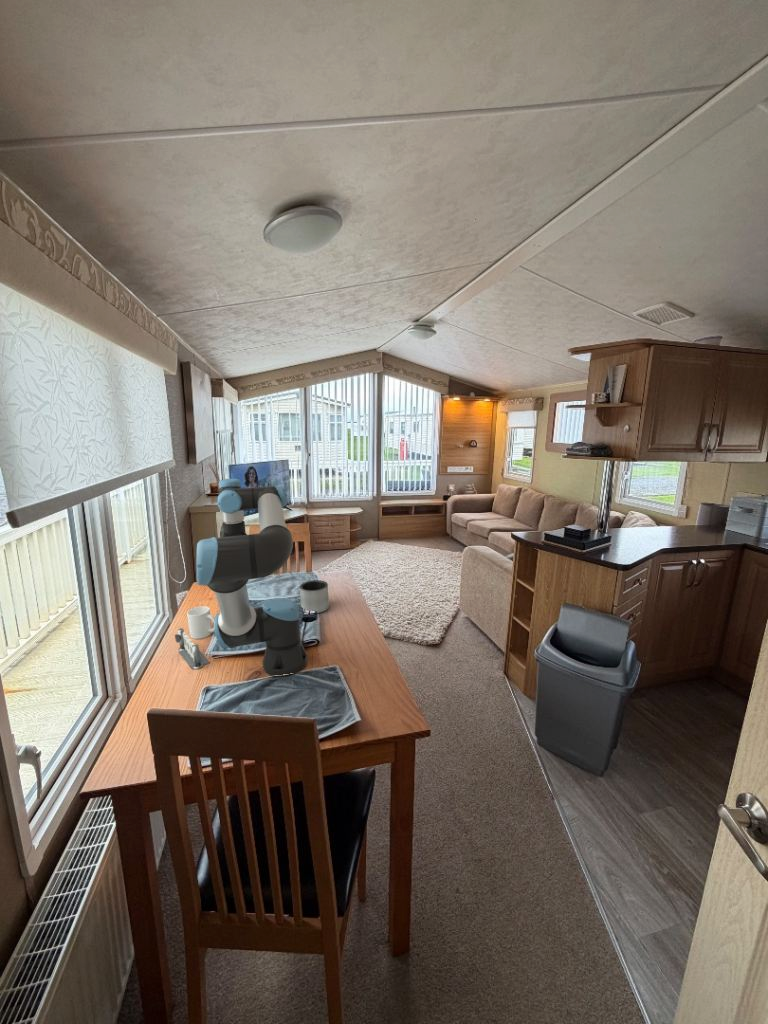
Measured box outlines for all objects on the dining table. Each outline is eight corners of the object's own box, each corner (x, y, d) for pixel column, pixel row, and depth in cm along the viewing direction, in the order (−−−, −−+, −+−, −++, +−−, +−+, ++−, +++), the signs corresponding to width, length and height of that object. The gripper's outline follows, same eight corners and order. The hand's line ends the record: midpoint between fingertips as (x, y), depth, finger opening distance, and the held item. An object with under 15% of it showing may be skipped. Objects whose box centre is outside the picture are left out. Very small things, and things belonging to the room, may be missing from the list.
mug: (224, 631, 172) (221, 608, 169) (211, 641, 164) (208, 617, 162) (199, 628, 175) (196, 605, 172) (185, 638, 167) (182, 614, 165)
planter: (304, 616, 183) (302, 592, 180) (298, 605, 194) (297, 582, 192) (332, 611, 187) (331, 588, 185) (325, 600, 199) (324, 578, 196)
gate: (197, 661, 149) (195, 644, 148) (194, 662, 149) (192, 645, 147) (187, 647, 158) (185, 631, 157) (184, 648, 158) (182, 632, 156)
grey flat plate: (210, 662, 150) (210, 661, 150) (192, 669, 146) (192, 668, 146) (195, 646, 161) (195, 645, 161) (178, 652, 157) (178, 651, 157)
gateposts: (204, 666, 147) (201, 646, 146) (193, 671, 145) (190, 650, 143) (186, 645, 161) (183, 626, 160) (175, 649, 159) (172, 630, 157)
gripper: (254, 518, 157) (260, 577, 162) (219, 519, 157) (226, 578, 162) (248, 523, 150) (254, 585, 155) (211, 524, 150) (219, 586, 155)
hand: (240, 582), depth 159 cm, fingers closed
